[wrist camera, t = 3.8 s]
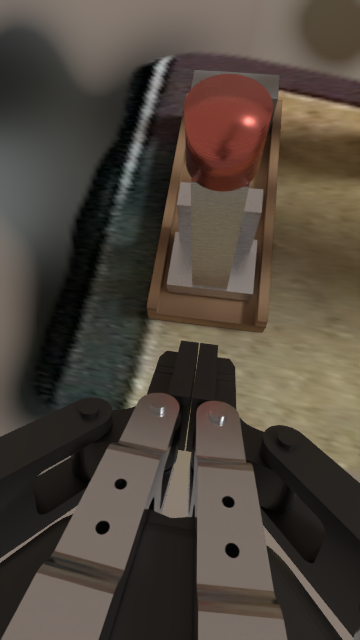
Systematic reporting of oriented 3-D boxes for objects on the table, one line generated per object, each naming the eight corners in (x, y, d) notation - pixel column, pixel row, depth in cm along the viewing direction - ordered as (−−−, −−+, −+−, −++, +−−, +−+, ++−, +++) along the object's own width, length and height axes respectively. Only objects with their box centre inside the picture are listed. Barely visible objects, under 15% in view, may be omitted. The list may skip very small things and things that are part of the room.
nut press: (262, 332, 30) (276, 309, 25) (149, 318, 31) (140, 293, 25) (277, 123, 37) (290, 72, 32) (186, 116, 38) (184, 65, 33)
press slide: (249, 304, 29) (315, 146, 13) (167, 294, 29) (136, 132, 14) (255, 239, 31) (317, 35, 15) (178, 231, 31) (161, 27, 16)
